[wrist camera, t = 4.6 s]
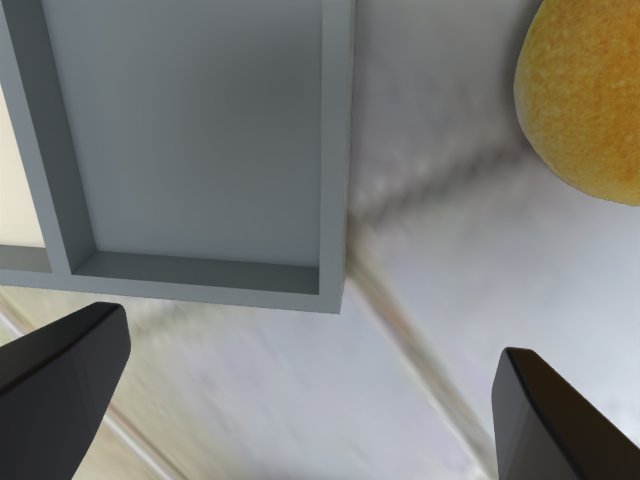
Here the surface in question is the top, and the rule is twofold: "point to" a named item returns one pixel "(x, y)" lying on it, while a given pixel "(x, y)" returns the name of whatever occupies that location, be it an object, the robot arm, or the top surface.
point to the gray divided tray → (177, 149)
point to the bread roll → (584, 94)
